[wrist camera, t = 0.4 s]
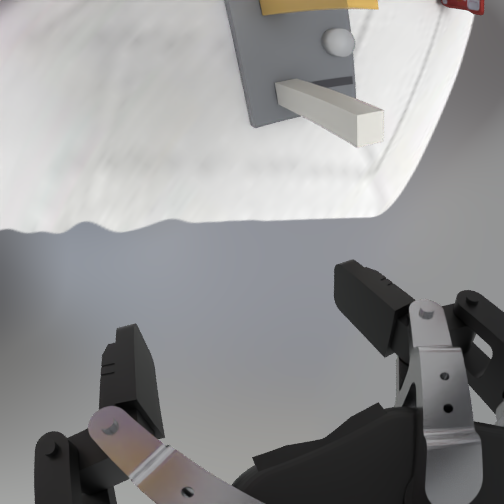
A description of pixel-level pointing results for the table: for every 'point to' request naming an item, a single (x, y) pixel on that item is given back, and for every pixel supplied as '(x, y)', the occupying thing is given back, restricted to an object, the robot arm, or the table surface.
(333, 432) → the robot arm
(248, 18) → the panel
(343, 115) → the lever ivory
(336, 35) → the button grey
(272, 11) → the lever amber
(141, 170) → the table surface
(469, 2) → the toy fire truck
